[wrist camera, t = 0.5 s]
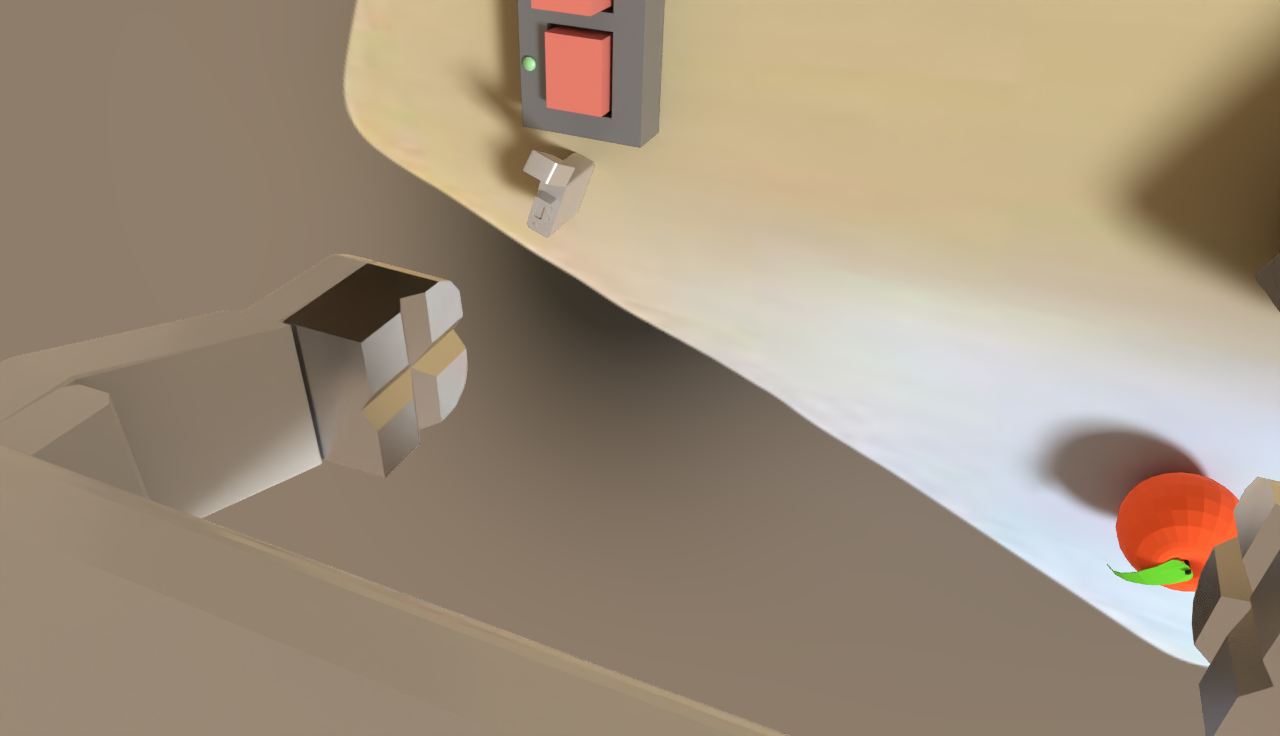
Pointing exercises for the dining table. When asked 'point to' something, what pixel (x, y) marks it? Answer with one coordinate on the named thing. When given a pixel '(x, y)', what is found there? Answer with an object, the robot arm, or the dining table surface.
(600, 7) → the button
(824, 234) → the dining table surface
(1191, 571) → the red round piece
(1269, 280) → the bluetooth speaker
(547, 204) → the lighter
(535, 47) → the power strip
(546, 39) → the button
